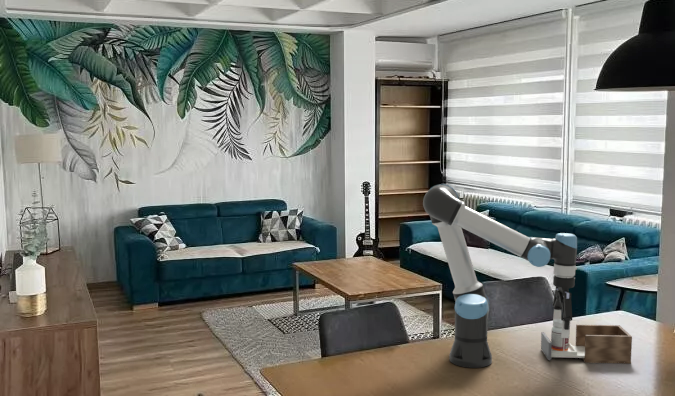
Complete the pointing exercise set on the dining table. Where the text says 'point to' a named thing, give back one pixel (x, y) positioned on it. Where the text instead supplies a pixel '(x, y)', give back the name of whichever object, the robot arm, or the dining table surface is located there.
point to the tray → (571, 353)
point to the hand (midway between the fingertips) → (560, 332)
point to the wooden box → (604, 343)
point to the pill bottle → (558, 337)
